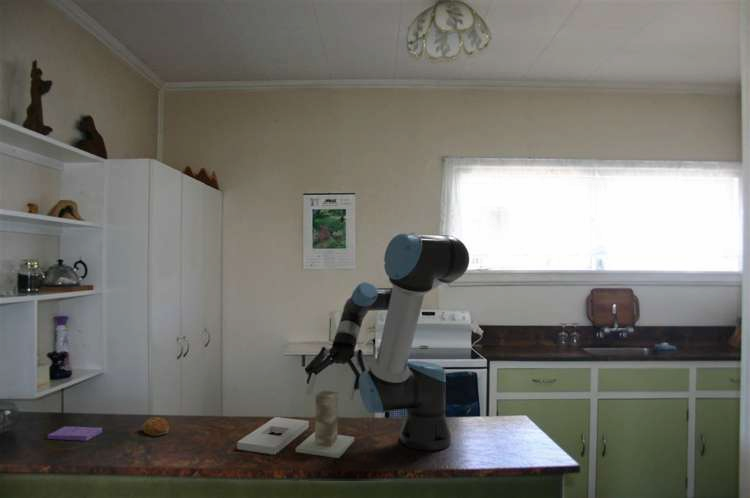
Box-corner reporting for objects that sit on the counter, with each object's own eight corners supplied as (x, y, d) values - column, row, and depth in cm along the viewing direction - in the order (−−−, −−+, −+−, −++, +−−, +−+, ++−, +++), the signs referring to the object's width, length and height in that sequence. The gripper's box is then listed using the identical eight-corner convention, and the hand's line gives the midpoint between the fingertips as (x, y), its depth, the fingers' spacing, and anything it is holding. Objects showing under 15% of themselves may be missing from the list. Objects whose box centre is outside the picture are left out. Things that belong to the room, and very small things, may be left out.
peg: (337, 440, 131) (338, 392, 131) (331, 446, 126) (332, 396, 127) (321, 438, 132) (322, 390, 133) (314, 444, 127) (315, 395, 128)
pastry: (174, 433, 137) (175, 421, 137) (152, 439, 132) (152, 426, 132) (161, 425, 144) (162, 414, 144) (139, 431, 138) (140, 419, 139)
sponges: (86, 442, 130) (86, 435, 130) (46, 440, 131) (46, 434, 131) (102, 433, 137) (103, 427, 137) (64, 431, 138) (64, 425, 138)
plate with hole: (308, 427, 144) (308, 421, 144) (275, 454, 122) (275, 447, 123) (275, 423, 147) (275, 417, 147) (237, 449, 126) (237, 441, 126)
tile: (354, 440, 133) (354, 436, 133) (338, 458, 121) (338, 454, 121) (314, 435, 137) (314, 431, 137) (295, 451, 125) (295, 448, 125)
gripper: (384, 346, 147) (371, 406, 132) (314, 342, 154) (294, 398, 139) (380, 333, 142) (366, 393, 127) (308, 329, 149) (287, 386, 134)
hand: (329, 396), depth 133 cm, fingers open, 13 cm apart
